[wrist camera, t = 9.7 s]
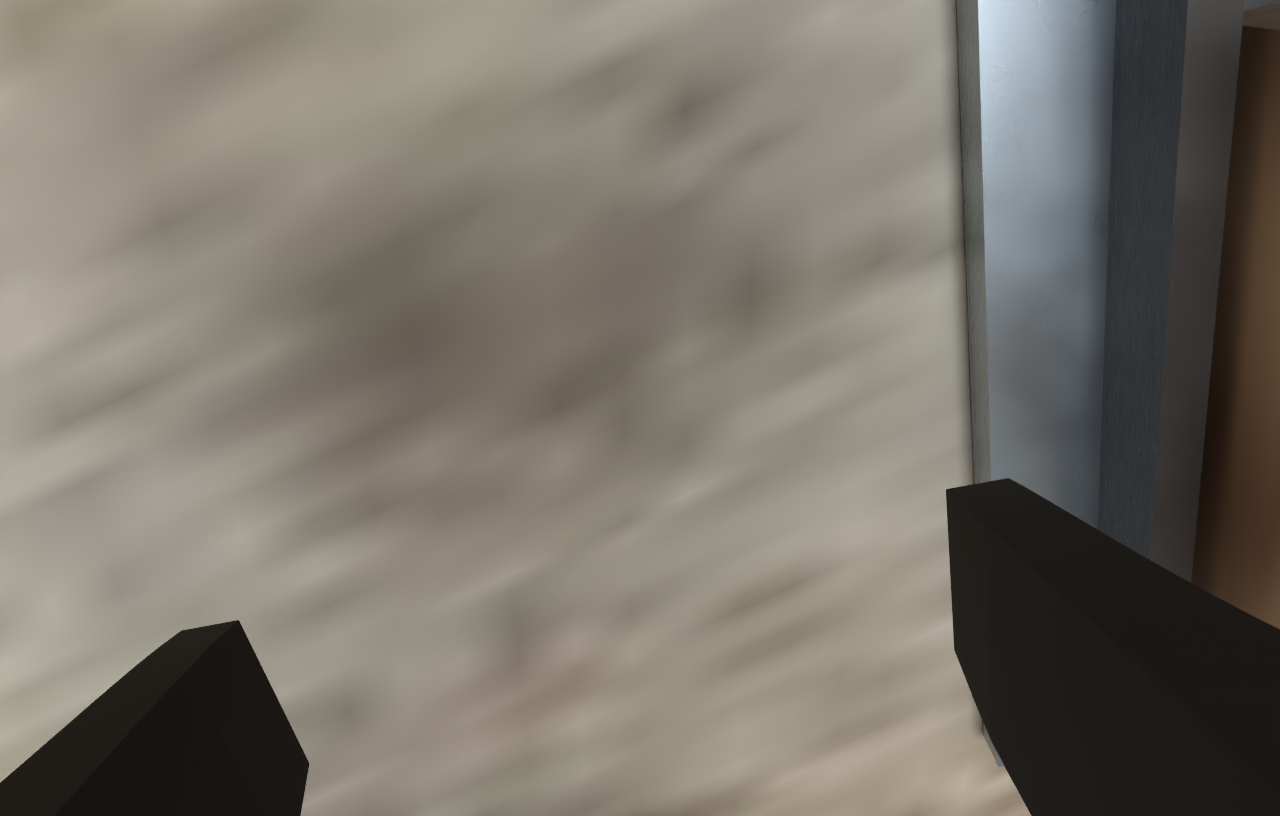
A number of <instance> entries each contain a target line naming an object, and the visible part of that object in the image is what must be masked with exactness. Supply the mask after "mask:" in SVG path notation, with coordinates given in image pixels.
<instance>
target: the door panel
mask: <svg viewBox="0 0 1280 816" xmlns="http://www.w3.org/2000/svg"><path fill="white" fill-rule="evenodd" d="M1191 583H1192V584H1194V585H1196V586H1198V587H1199V588H1201V589H1203V590H1205V591H1207V592H1209V593H1210V594H1212V595H1214V596H1216V597H1218V598H1220V599H1222V600H1224V601H1226V602H1227V603H1229V604H1231V605H1233V606H1235V607H1237V608H1239V609H1241V610H1243V611H1245V612H1246V613H1248V614H1250V615H1252V616H1254V617H1256V618H1258V619H1260V620H1262V621H1264V622H1266V623H1268V624H1270V625H1272V626H1274V627H1276V628H1278V629H1280V3H1279V4H1274V5H1269V6H1264V7H1259V8H1255V9H1250V10H1245V11H1244V13H1243V24H1242V35H1241V46H1240V57H1239V68H1238V79H1237V90H1236V101H1235V112H1234V122H1233V133H1232V144H1231V155H1230V166H1229V177H1228V188H1227V199H1226V210H1225V221H1224V231H1223V242H1222V253H1221V264H1220V275H1219V286H1218V297H1217V308H1216V319H1215V330H1214V340H1213V351H1212V362H1211V373H1210V384H1209V395H1208V406H1207V417H1206V428H1205V438H1204V449H1203V460H1202V471H1201V482H1200V493H1199V504H1198V515H1197V526H1196V537H1195V547H1194V558H1193V569H1192V580H1191Z"/></svg>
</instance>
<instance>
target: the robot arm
mask: <svg viewBox="0 0 1280 816" xmlns="http://www.w3.org/2000/svg"><path fill="white" fill-rule="evenodd" d="M946 499H947V518H948V537H949V556H950V574H951V593H952V612H953V631H954V650H955V652H956V655H957V657H958V660H959V663H960V665H961V668H962V670H963V673H964V675H965V678H966V680H967V683H968V686H969V688H970V691H971V693H972V696H973V698H974V701H975V703H976V706H977V708H978V710H979V713H980V715H981V718H982V720H983V722H984V725H985V727H986V730H987V732H988V734H989V737H990V739H991V742H992V744H993V745H994V747H995V749H996V751H997V753H998V755H999V757H1000V759H1001V760H1002V762H1003V764H1004V766H1005V768H1006V770H1007V772H1008V773H1009V775H1010V777H1011V779H1012V781H1013V783H1014V784H1015V786H1016V788H1017V790H1018V792H1019V794H1020V795H1021V797H1022V799H1023V801H1024V803H1025V805H1026V806H1027V808H1028V810H1029V812H1030V814H1031V815H1032V816H1280V629H1278V628H1276V627H1274V626H1272V625H1270V624H1268V623H1266V622H1264V621H1262V620H1260V619H1258V618H1256V617H1254V616H1252V615H1250V614H1248V613H1246V612H1245V611H1243V610H1241V609H1239V608H1237V607H1235V606H1233V605H1231V604H1229V603H1227V602H1226V601H1224V600H1222V599H1220V598H1218V597H1216V596H1214V595H1212V594H1210V593H1209V592H1207V591H1205V590H1203V589H1201V588H1199V587H1198V586H1196V585H1194V584H1192V583H1190V582H1188V581H1187V580H1185V579H1183V578H1181V577H1179V576H1178V575H1176V574H1174V573H1172V572H1170V571H1169V570H1167V569H1165V568H1163V567H1161V566H1160V565H1158V564H1156V563H1154V562H1153V561H1151V560H1149V559H1147V558H1146V557H1144V556H1142V555H1140V554H1139V553H1137V552H1135V551H1133V550H1132V549H1130V548H1128V547H1126V546H1125V545H1123V544H1121V543H1120V542H1118V541H1116V540H1114V539H1113V538H1111V537H1109V536H1108V535H1106V534H1104V533H1103V532H1101V531H1099V530H1097V529H1096V528H1094V527H1092V526H1091V525H1089V524H1087V523H1086V522H1084V521H1082V520H1080V519H1079V518H1077V517H1075V516H1074V515H1072V514H1070V513H1069V512H1067V511H1065V510H1064V509H1062V508H1060V507H1059V506H1057V505H1055V504H1054V503H1052V502H1050V501H1048V500H1047V499H1045V498H1043V497H1042V496H1040V495H1038V494H1037V493H1035V492H1033V491H1031V490H1030V489H1028V488H1026V487H1024V486H1023V485H1021V484H1019V483H1017V482H1015V481H1013V480H1012V479H1010V478H1006V479H1000V480H995V481H989V482H984V483H979V484H973V485H968V486H962V487H957V488H951V489H946ZM308 768H309V762H308V760H307V758H306V756H305V754H304V752H303V750H302V748H301V746H300V744H299V742H298V740H297V738H296V736H295V733H294V731H293V729H292V727H291V725H290V723H289V721H288V719H287V717H286V715H285V713H284V711H283V709H282V707H281V705H280V703H279V701H278V699H277V697H276V695H275V693H274V691H273V689H272V687H271V685H270V683H269V681H268V679H267V677H266V675H265V673H264V670H263V668H262V666H261V664H260V662H259V660H258V658H257V656H256V654H255V652H254V650H253V648H252V646H251V644H250V642H249V640H248V638H247V636H246V634H245V632H244V630H243V628H242V626H241V624H240V622H239V620H237V621H232V622H226V623H221V624H215V625H210V626H204V627H199V628H194V629H188V630H183V631H181V632H179V633H178V634H176V635H175V636H174V637H172V638H171V639H170V640H168V641H167V642H165V643H164V644H163V645H161V646H160V647H159V648H158V649H156V650H155V651H154V652H152V653H151V654H150V655H149V656H147V657H146V658H145V659H144V660H143V661H141V662H140V663H139V664H138V665H136V666H135V667H134V668H133V669H132V670H130V671H129V672H128V673H127V674H126V675H124V676H123V677H122V678H121V679H120V680H119V681H117V682H116V683H115V684H114V685H113V686H112V687H110V688H109V689H108V690H107V691H106V692H105V693H103V694H102V695H101V696H100V697H99V698H98V699H96V700H95V701H94V702H93V703H92V704H91V705H90V706H88V707H87V708H86V709H85V710H84V711H83V712H81V713H80V714H79V715H78V716H77V717H76V718H75V719H73V720H72V721H71V722H70V723H69V724H68V725H67V726H65V727H64V728H63V729H62V730H61V731H60V732H58V733H57V734H56V735H55V736H54V737H53V738H52V739H50V740H49V741H48V742H47V743H46V744H45V745H43V746H42V747H41V748H40V749H39V750H38V751H37V752H35V753H34V754H33V755H32V756H31V757H30V758H28V759H27V760H26V761H25V762H24V763H23V764H22V765H20V766H19V767H18V768H17V769H16V770H15V771H13V772H12V773H11V774H10V775H9V776H8V777H7V778H5V779H4V780H3V781H2V782H1V783H0V816H300V815H301V809H302V803H303V797H304V791H305V785H306V780H307V774H308Z"/></svg>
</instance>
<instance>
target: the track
mask: <svg viewBox="0 0 1280 816" xmlns="http://www.w3.org/2000/svg"><path fill="white" fill-rule="evenodd" d="M1279 3H1280V0H956V6H957V33H958V60H959V87H960V115H961V142H962V169H963V197H964V224H965V251H966V278H967V306H968V333H969V360H970V387H971V415H972V442H973V469H974V484H979V483H984V482H989V481H995V480H1000V479H1006V478H1010V479H1012V480H1013V481H1015V482H1017V483H1019V484H1021V485H1023V486H1024V487H1026V488H1028V489H1030V490H1031V491H1033V492H1035V493H1037V494H1038V495H1040V496H1042V497H1043V498H1045V499H1047V500H1048V501H1050V502H1052V503H1054V504H1055V505H1057V506H1059V507H1060V508H1062V509H1064V510H1065V511H1067V512H1069V513H1070V514H1072V515H1074V516H1075V517H1077V518H1079V519H1080V520H1082V521H1084V522H1086V523H1087V524H1089V525H1091V526H1092V527H1094V528H1096V529H1097V530H1099V531H1101V532H1103V533H1104V534H1106V535H1108V536H1109V537H1111V538H1113V539H1114V540H1116V541H1118V542H1120V543H1121V544H1123V545H1125V546H1126V547H1128V548H1130V549H1132V550H1133V551H1135V552H1137V553H1139V554H1140V555H1142V556H1144V557H1146V558H1147V559H1149V560H1151V561H1153V562H1154V563H1156V564H1158V565H1160V566H1161V567H1163V568H1165V569H1167V570H1169V571H1170V572H1172V573H1174V574H1176V575H1178V576H1179V577H1181V578H1183V579H1185V580H1187V581H1188V582H1190V583H1191V580H1192V569H1193V558H1194V547H1195V537H1196V526H1197V515H1198V504H1199V493H1200V482H1201V471H1202V460H1203V449H1204V438H1205V428H1206V417H1207V406H1208V395H1209V384H1210V373H1211V362H1212V351H1213V340H1214V330H1215V319H1216V308H1217V297H1218V286H1219V275H1220V264H1221V253H1222V242H1223V231H1224V221H1225V210H1226V199H1227V188H1228V177H1229V166H1230V155H1231V144H1232V133H1233V122H1234V112H1235V101H1236V90H1237V79H1238V68H1239V57H1240V46H1241V35H1242V24H1243V13H1244V11H1245V10H1250V9H1255V8H1259V7H1264V6H1269V5H1274V4H1279ZM983 736H984V738H985V740H986V742H987V744H988V746H989V748H990V750H991V752H992V754H993V756H994V758H995V760H996V762H997V764H998V766H999V767H1000V766H1004V764H1003V762H1002V760H1001V759H1000V757H999V755H998V753H997V751H996V749H995V747H994V745H993V744H992V742H991V739H990V737H989V734H988V732H987V730H986V727H985V725H984V722H983Z"/></svg>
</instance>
